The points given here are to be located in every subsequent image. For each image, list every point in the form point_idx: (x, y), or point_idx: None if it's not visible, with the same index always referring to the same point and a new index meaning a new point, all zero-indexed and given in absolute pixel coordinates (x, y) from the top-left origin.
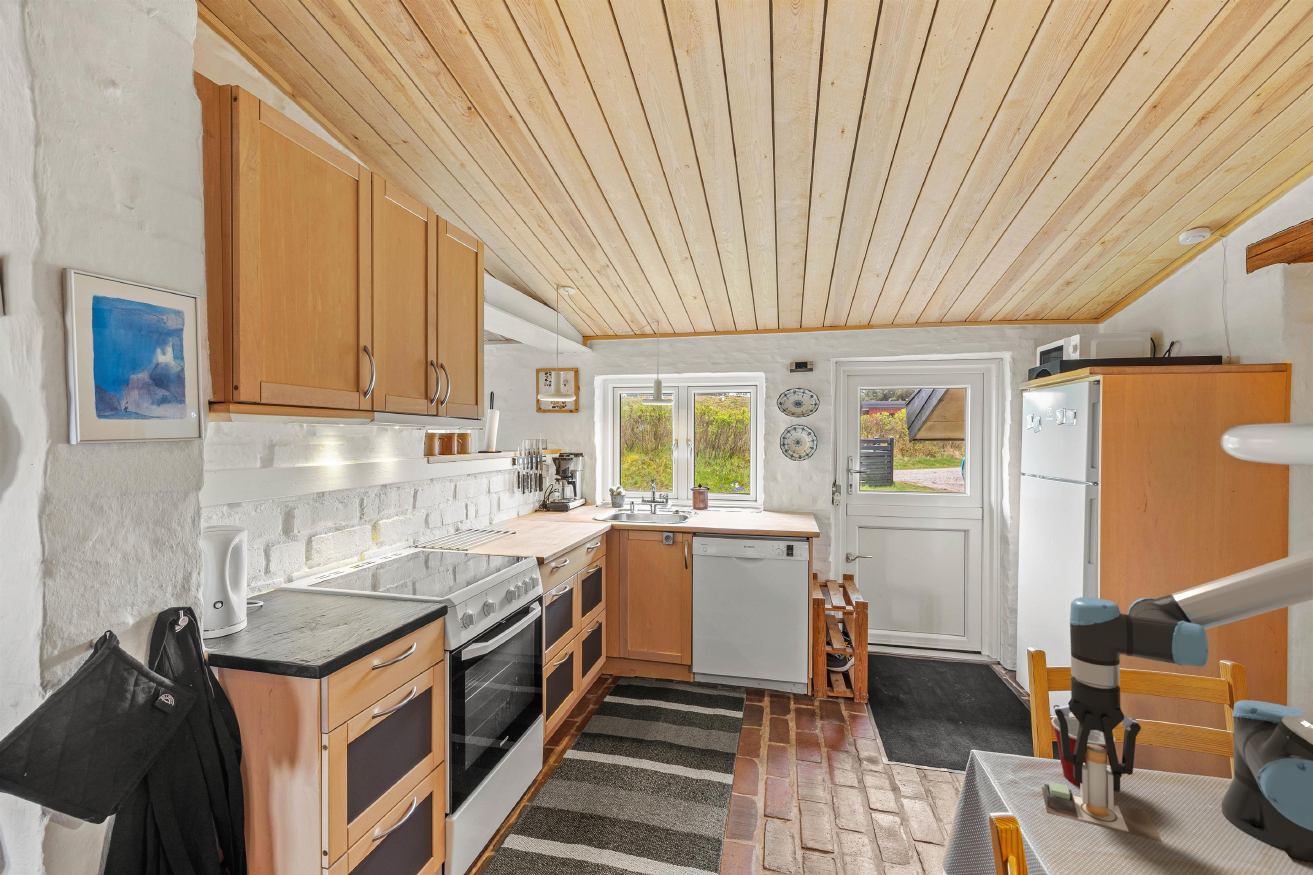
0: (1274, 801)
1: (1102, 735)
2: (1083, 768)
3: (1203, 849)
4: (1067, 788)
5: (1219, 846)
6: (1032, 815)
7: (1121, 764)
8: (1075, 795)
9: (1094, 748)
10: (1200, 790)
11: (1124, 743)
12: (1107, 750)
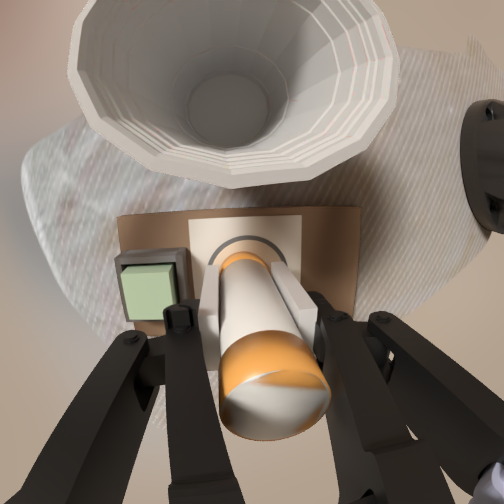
0: None
1: (338, 3)
2: (208, 363)
3: (408, 278)
4: (169, 287)
5: (432, 252)
6: (115, 333)
7: (366, 344)
8: (199, 213)
9: (267, 413)
10: (442, 61)
11: (437, 404)
12: (333, 407)
